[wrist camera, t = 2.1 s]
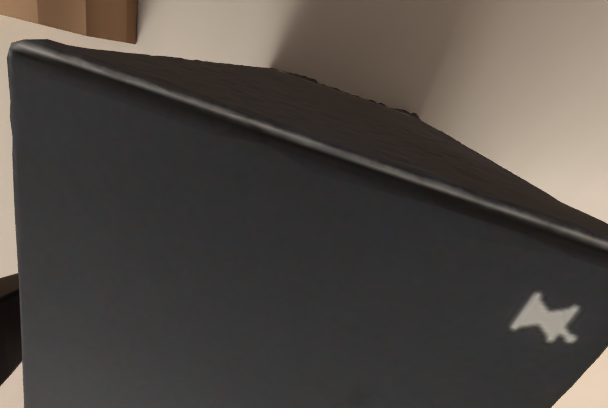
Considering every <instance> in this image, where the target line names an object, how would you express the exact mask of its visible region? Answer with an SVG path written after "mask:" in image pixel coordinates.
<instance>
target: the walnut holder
mask: <svg viewBox="0 0 608 408" xmlns="http://www.w3.org/2000/svg"><path fill="white" fill-rule="evenodd" d="M0 14H1V15H5V16H9V17H13V18H17V19H21V20H25V21H29V22H33V23H37V24H41V25H45V26H49V27H53V28H57V29H61V30H65V31H69V32H73V33H77V34H81V35H85V36H91V37H96V38H102V39H108V40H114V41H120V42H126V43H132V44H136V19H137V0H0Z"/></svg>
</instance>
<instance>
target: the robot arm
mask: <svg viewBox="0 0 608 408" xmlns="http://www.w3.org/2000/svg"><path fill="white" fill-rule="evenodd" d="M21 362H22V340H21V317H20V295H19V275H18V273H17V274H13V275H10V276H6V277H3V278H0V386H1V385H2V384H3V383H4V381H5V380H6V379H7V378H8V377H9V376H10V375H11V374H12V373H13V371H14V370H15V369H16V368H17V367H18V365H19V364H20V363H21Z"/></svg>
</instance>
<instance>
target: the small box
mask: <svg viewBox="0 0 608 408" xmlns="http://www.w3.org/2000/svg"><path fill="white" fill-rule="evenodd" d="M7 64H8V77H9V89H10V100H11V103H10V121H11V128H12V136H13V153H12V157H13V181H14V206H15V225H16V241H17V258H18V275H19V295H20V317H21V340H22V364H23V387H24V408H551V407H552V406H553V405H554V404H555V403H556V402H557V401H558V399H559V398H560V397H561V396H562V395H563V394H565V393H566V392H567V391H568V390H569V389H570V388H571V387H572V386H573V385H574V383H575V382H576V381H577V380H578V379H579V378H580V377H581V376H582V375H583V373H584V372H585V371H586V370H587V369H588V368H589V367H590V366H591V365H592V364H593V363H594V362H595V361H596V359H597V358H598V357H599V356H600V355H601V354H602V353H603V351H604V350H605V349H606V348H607V347H608V224H607V223H605V222H603V221H601V220H599V219H597V218H594V217H592V216H590V215H588V214H586V213H584V212H581V211H579V210H577V209H574V208H572V207H570V206H568V205H566V204H564V203H562V202H560V201H558V200H556V199H555V198H553V197H552V196H550V195H549V194H547V193H546V192H544V191H542V190H541V189H539V188H537V187H535V186H534V185H532V184H530V183H529V182H527V181H525V180H524V179H522V178H520V177H518V176H516V175H514V174H513V173H511V172H510V171H508V170H507V169H504V168H502V167H501V166H499V165H497V164H496V163H494V162H493V161H491V160H489V159H487V158H486V157H484V156H482V155H481V154H479V153H477V152H475V151H473V150H472V149H470V148H468V147H466V146H465V145H463V144H461V143H460V142H459V141H456V140H455V139H453V138H452V137H450V136H448V135H446V134H445V133H444V132H442V131H439V130H437V129H435V128H433V127H432V126H430V125H428V124H426V123H424V122H423V121H421V120H420V119H419V117H418V116H417V114H416V113H412V114H410V113H409V112H407V111H406V110H400V109H391V108H388V107H386V106H385V105H384V104H382V103H376V102H375V101H373V100H366V99H362V98H360V97H359V96H353V95H350V94H349V93H345V92H342V91H340V90H338V89H337V88H331V87H328V86H325V85H323V84H319V83H318V82H317V81H316V80H314V79H310V78H307V77H305V76H300V75H298V74H292V73H288V72H284V71H280V70H277V69H274V68H261V67H251V66H243V65H233V64H224V63H213V62H207V61H200V60H186V59H183V58H174V57H166V56H150V55H145V54H133V53H123V52H116V51H106V50H96V49H88V48H81V47H75V46H69V45H65V44H62V43H58V42H55V41H52V40H48V39H32V40H21V41H17V42H13V43H11V46H10V48H9V52H8V56H7Z"/></svg>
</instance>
